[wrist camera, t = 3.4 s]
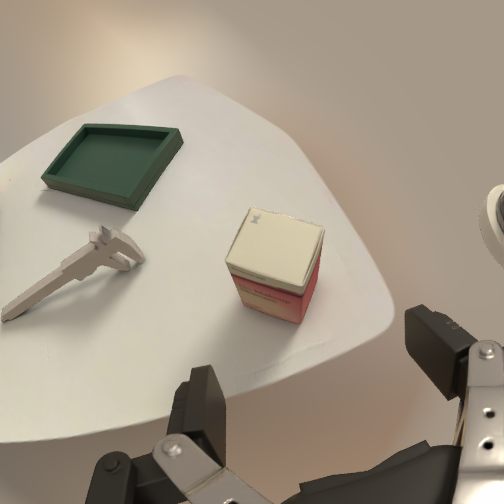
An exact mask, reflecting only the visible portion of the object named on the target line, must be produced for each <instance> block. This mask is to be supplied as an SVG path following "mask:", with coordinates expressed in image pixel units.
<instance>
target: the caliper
mask: <svg viewBox="0 0 504 504" xmlns="http://www.w3.org/2000/svg"><path fill="white" fill-rule="evenodd" d="M89 234H90V243H88V244H87V245H85V246H84V247H82V248H81V249H79V250H78V251H76V252H75V253H73V254H72V255H71V256H69V257H68V258H66V259H65V260H63V261H62V262H61V266H60V267H59V268H57V269H56V270H55V271H53V272H52V273H50V274H49V275H47V276H46V277H44V278H43V279H42V280H40V281H39V282H37V283H36V284H35V285H33V286H32V287H30V288H29V289H28V290H26V291H25V292H24V293H22V294H21V295H20V296H18V297H17V298H16V299H14V300H13V301H12V302H10V303H9V304H8V305H6V306H5V307H4V308H3V309H2V313H1V322H5V321H6V320H7V319H9V320H12V319H14V318H15V317H17V316H18V315H19V314H21V313H22V312H24V311H25V310H27V309H28V308H30V307H31V306H33V305H34V304H36V303H37V302H39V301H40V300H42V299H43V298H45V297H46V296H48V295H49V294H51V293H52V292H54V291H55V290H57V289H59V288H60V287H62V286H63V285H65V284H66V283H68V282H70V281H71V280H73V279H74V278H75V279H77V280H79V281H82V280H83V279H84V278H85V277H86V276H89V275H91V274H92V273H93V272H94V271H95V270H96V269H97V267H99V266H100V265H104V266H107V267H111V268H115V269H119V270H123V271H130V270H131V269H130V263H129V261H128V260H126V259H124V257H122V256H121V255H119V254H117V253H116V252H118V251H119V252H120V253H122V254H124V255H126V256H128V257H130V258H131V259H133V260H135V261H137V262H138V263H140V264H142V263H143V262H144V257H143V252H142V251H141V249H140V248H139V247H138V246H137V245H136V243H135V242H134V241H133V240H132V239H131V238H130V237H129V236H128V235H126V234H124V233H123V232H121V231H119V230H118V229H116V228H113V229H111V230H110V231H109V230H107V229H106V228H104V227H103V226H101V225H100V233H96V232H89Z"/></svg>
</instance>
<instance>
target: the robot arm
mask: <svg viewBox="0 0 504 504" xmlns="http://www.w3.org/2000/svg"><path fill="white" fill-rule="evenodd" d="M495 209H496V217H497V220H498V223H499V226H500V228H501V230H502V232H503V234H504V190H503V192H502V193H501V194H500V196H499V197H498V199H497V202H496V208H495ZM405 345H406V349H407V351H408V353H409V355H410V356H411V357H412V358H413V359H414V361H415V362H416V363H417V364H418V365H419V367H420V368H421V369H422V370H423V371H424V372H425V374H426V375H427V376H428V377H429V378H430V379H431V381H432V382H433V383H434V384H435V386H436V387H437V388H438V389H439V390H440V392H441V393H442V394H443V395H444V396H445V397H446V399H447V400H448V401H449V400H451V399H453V398H455V397H457V396H458V397H459V398H460V403H459V410H458V417H457V424H456V430H455V436H454V441H453V445H440V446H433V447H430V446H429V444H428V443H427V441H426V440H424V441H422V442H420V443H418V444H415V445H413V446H411V447H409V448H407V449H404V450H402V451H399V452H397V453H396V454H394V455H393V456H391V457H389V458H388V459H387V460H385V461H383V462H382V463H380V464H379V465H377V466H376V467H374V468H372V469H370V470H368V471H364V472H356V473H348V474H339V475H331V476H327V477H324V478H320V479H316V480H312V481H308V482H304V483H300V484H299V485H300V490H301V492H299V493H297V494H295V495H293V496H292V497H290V498H288V499H287V500H285V501H284V502H282V503H281V504H504V347H502V346H501V345H500V344H499V343H497V342H495V341H491V340H482V341H478V340H477V339H475V338H474V337H473V336H472V335H470V334H469V333H468V332H467V331H465V330H464V329H463V328H462V327H459V325H458V324H457V323H456V322H453V320H452V319H451V318H449V317H448V316H447V315H445V314H442V313H439V312H436V311H435V312H432V311H430V310H429V309H428V308H427V307H426V306H424V305H422V304H421V305H418V306H416V307H413V308H410V309H408V310H406V311H405ZM187 500H188V501H189V502H190V503H191V504H273V503H272V502H271V501H269V500H268V499H267V498H265V497H264V496H263V495H261V494H260V493H259V492H257V491H256V490H255V489H253V488H252V487H251V486H249V485H248V484H247V483H246V482H244V481H243V480H242V479H241V478H240V477H238V476H237V475H236V474H235V473H233V472H232V471H231V470H230V469H228V468H227V467H226V404H225V398H224V395H223V392H222V390H221V387H220V385H219V382H218V380H217V377H216V375H215V372H214V370H213V368H212V366H211V365H206V366H201V367H196V368H192V370H191V375H190V381H187V382H182V383H181V385H180V386H179V387H178V389H177V390H176V391H175V396H174V402H173V405H172V410H171V415H170V419H169V424H168V429H167V434H166V436H165V437H163V438H161V439H160V440H158V441H157V442H156V444H155V445H154V447H153V450H152V452H151V453H149V454H146V455H143V456H140V457H137V458H133V459H130V458H129V456H128V455H127V454H125V453H123V452H119V451H116V452H111V453H108V454H106V455H104V456H103V457H101V459H100V460H99V461H98V462H97V464H96V466H95V470H94V473H93V476H92V480H91V483H90V487H89V490H88V494H87V498H86V501H85V504H178V503H181V502H184V501H187Z"/></svg>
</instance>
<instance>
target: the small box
mask: <svg viewBox="0 0 504 504" xmlns="http://www.w3.org/2000/svg"><path fill="white" fill-rule="evenodd" d="M324 232H325V229H324V227H323V226H321V225H317V224H314V223H311V222H307V221H304V220H301V219H297V218H294V217H291V216H288V215H283V214H279V213H275V212H271V211H267V210H263V209H259V208H256V207H250V208H249V210H248V212H247V214H246V216H245V218H244V220H243V222H242V224H241V226H240V228H239V230H238V232H237V234H236V236H235V238H234V240H233V243H232V245H231V247H230V249H229V252H228V254H227V256H226V258H225V262H226V264H227V267H228V269H229V271H230V274H231V276H232V278H233V281H234V283H235V285H236V288H237V290H238V293H239V295H240V297H241V300H242V302H243V304H244V305H245V306H248V307H250V308H253V309H255V310H258V311H260V312H263V313H266V314H268V315H271V316H274V317H278V318H281V319H284V320H287V321H290V322H294V323H297V324H301V322H302V320H303V318H304V315H305V313H306V310H307V308H308V305H309V302H310V300H311V297H312V294H313V291H314V288H315V285H316V282H317V278H318V271H319V264H320V257H321V250H322V244H323V237H324Z"/></svg>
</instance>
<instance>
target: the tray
mask: <svg viewBox="0 0 504 504" xmlns="http://www.w3.org/2000/svg"><path fill="white" fill-rule="evenodd" d="M183 143H184V142H183V139H182V136H181V134H180V131H179V129H177V128H167V127H155V126H140V125H120V124H84V125H83V126H82V127H81V128H80V129H79V130H78V132H77V133H76V134H75V135H74V136H73V137H72V139H71V140H70V141H69V142H68V143H67V144H66V146H65V147H64V148H63V149H62V151H61V152H60V153H59V154H58V155H57V157H56V158H55V159H54V161H53V162H52V163H51V164H50V166H49V167H48V168H47V170H46V171H45V172H44V174H43V175H42V176H41V179H42V180H43V181H44V182H45V183H46V185H47V186H48V187H49V188H53V189H57V190H60V191H64V192H68V193H72V194H76V195H79V196H83V197H87V198H91V199H94V200H98V201H102V202H106V203H109V204H113V205H117V206H120V207H124V208H128V209H132V210H135V211H137V210H138V209H139V207H140V206H141V204H142V203H143V201H144V199H145V198H146V196H147V195H148V193H149V192H150V190H151V189H152V187H153V186H154V184H155V183H156V181H157V180H158V178H159V177H160V175H161V174H162V172H163V171H164V170H165V168H166V167H167V165H168V164H169V162H170V161H171V160H172V158H173V157H174V155H175V154H176V152H177V151H178V150H179V148H180V147H181V146H182V144H183Z"/></svg>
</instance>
